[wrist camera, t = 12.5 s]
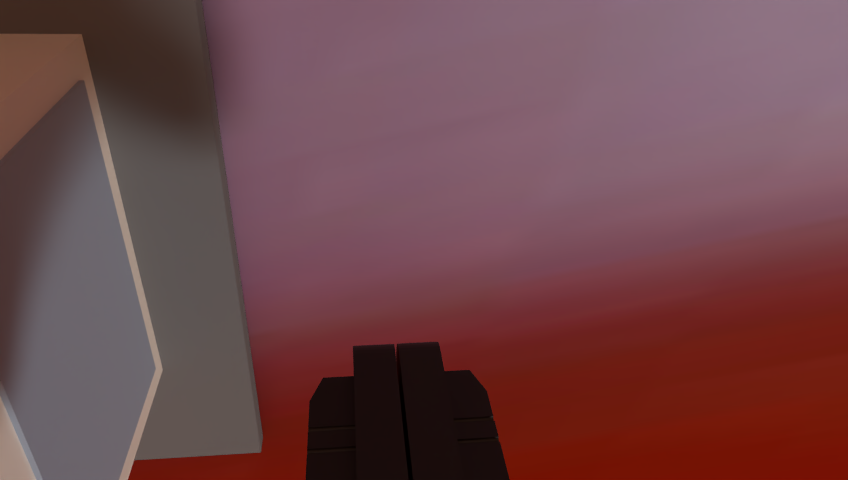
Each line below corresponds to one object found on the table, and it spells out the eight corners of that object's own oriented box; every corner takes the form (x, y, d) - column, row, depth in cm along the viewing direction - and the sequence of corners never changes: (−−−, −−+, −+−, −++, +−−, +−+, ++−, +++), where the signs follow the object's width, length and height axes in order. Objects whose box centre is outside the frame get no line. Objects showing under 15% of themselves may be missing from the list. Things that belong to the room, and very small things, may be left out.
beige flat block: (-49, 33, 13) (-374, 217, 7) (87, 33, 13) (-118, 210, 7) (69, 374, 18) (-65, 651, 12) (166, 369, 18) (82, 638, 12)
